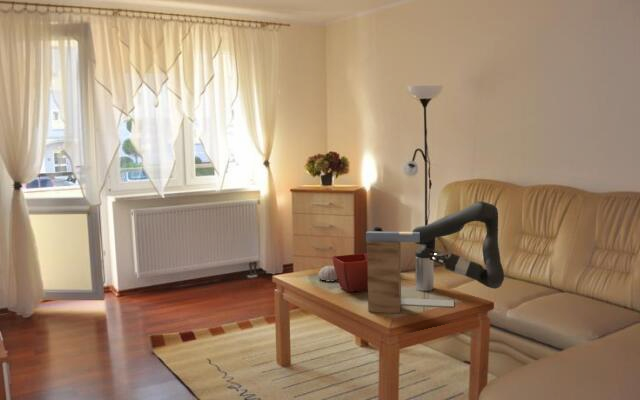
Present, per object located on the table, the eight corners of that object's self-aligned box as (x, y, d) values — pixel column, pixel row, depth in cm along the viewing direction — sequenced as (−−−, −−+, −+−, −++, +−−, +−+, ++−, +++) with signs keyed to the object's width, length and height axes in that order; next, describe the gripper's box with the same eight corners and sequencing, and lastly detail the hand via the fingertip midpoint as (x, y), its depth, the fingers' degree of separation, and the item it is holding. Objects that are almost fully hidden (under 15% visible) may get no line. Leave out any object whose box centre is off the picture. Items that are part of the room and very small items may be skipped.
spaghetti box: (367, 239, 255) (367, 231, 254) (419, 240, 249) (419, 232, 249) (365, 241, 251) (365, 232, 250) (419, 242, 245) (419, 233, 245)
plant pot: (332, 286, 298) (331, 255, 296) (364, 283, 304) (364, 253, 302) (344, 295, 280) (344, 262, 278) (379, 291, 286) (378, 259, 284)
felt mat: (399, 299, 270) (399, 298, 270) (453, 301, 264) (453, 300, 264) (397, 304, 261) (397, 303, 261) (453, 307, 254) (453, 306, 254)
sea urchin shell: (342, 282, 307) (342, 268, 306) (318, 283, 306) (318, 269, 306) (340, 276, 320) (339, 263, 320) (317, 277, 320) (316, 264, 319)
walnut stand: (371, 305, 261) (370, 238, 258) (401, 306, 258) (400, 239, 255) (368, 312, 250) (366, 242, 247) (398, 313, 247) (398, 243, 244)
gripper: (462, 254, 248) (428, 241, 254) (459, 258, 235) (423, 245, 240) (457, 269, 250) (423, 256, 255) (453, 275, 236) (417, 261, 242)
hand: (423, 251), depth 248 cm, fingers open, 8 cm apart
